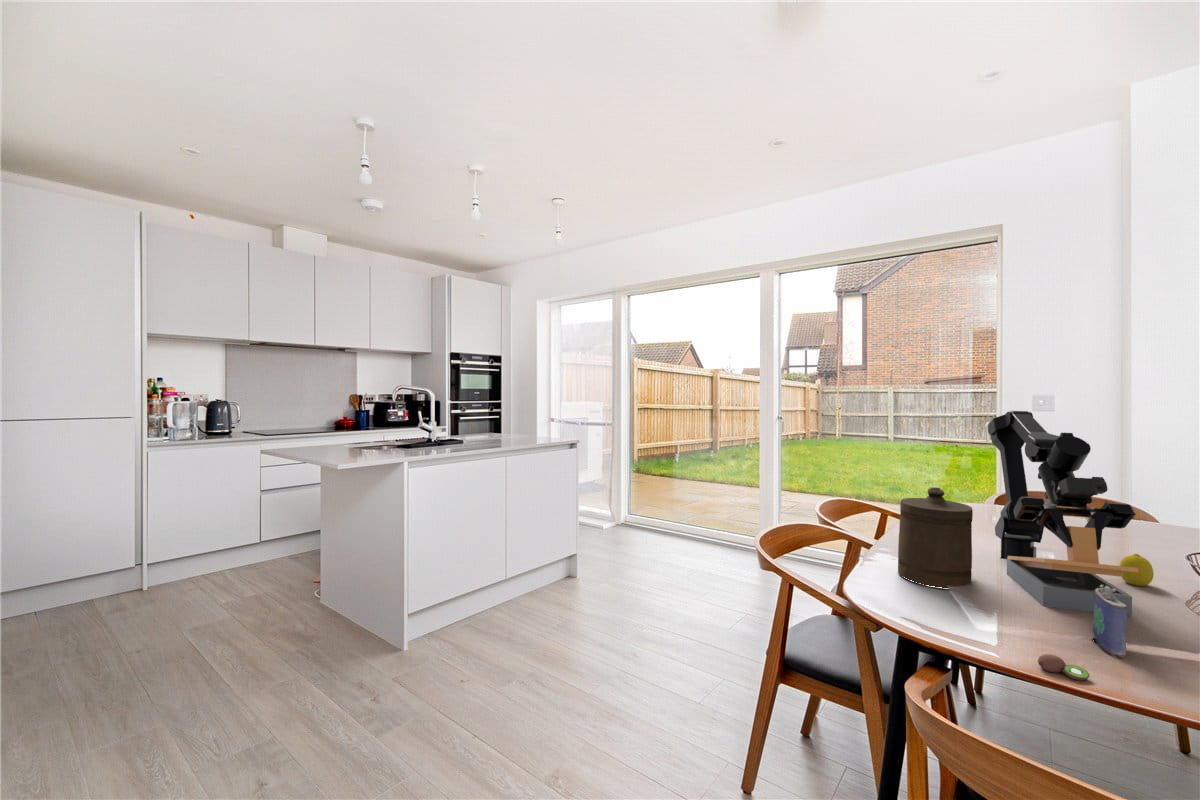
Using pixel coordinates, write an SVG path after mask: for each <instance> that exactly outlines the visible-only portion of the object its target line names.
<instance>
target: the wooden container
mask: <svg viewBox="0 0 1200 800" xmlns="http://www.w3.org/2000/svg"><path fill="white" fill-rule="evenodd" d="M945 493H946V492H945V491H944V490H942V489H941V488H940V487H934V486H933V487H930V488H928V489H927V495H928V496H926V497H908V498H907V497H906V498H902V499H901V500H900V507H899V510H900V512H899V513H900V514H899V526H898V527H899V528H898V529H899V531H898V544H897V545H898V551H897V557H898V558H897V574H898V573H899V574H900V575H901V576H903V577H905V578H907V579H909V580H912V581H914V582H917V583H921V584H924V585H929V586H935V587H942V588H950V587H964V586H969V585H971V583H972V575H973V573H972V568H973V545H972V544H973V543H972V541H973V539H972V534H973V533H972V528H973V527H972V523H973V517H974V514H973V507H972V506H970V505H969V504H965V503H962V502H959V501H958V502H957V501H952V500H946V499H945V498H944V496H945ZM899 574H898V575H899ZM900 575H899V576H900ZM901 576H900V577H901ZM903 577H902V578H903Z"/></svg>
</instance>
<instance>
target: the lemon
mask: <svg viewBox="0 0 1200 800" xmlns="http://www.w3.org/2000/svg"><path fill="white" fill-rule="evenodd" d="M1118 566H1124V567H1134V568H1138V571H1139V572H1131V571H1123V577H1121V579H1123V581H1124V582H1125V583H1127V584H1129V585H1131V586H1136V587H1146V586H1148V585H1150V584H1151V582H1152V581H1153V579H1154V573H1155V572H1154V569H1153V566H1152V564H1151V562H1150V561H1149V560H1148V559H1147V558H1145V557H1143V556H1141V554H1138V553H1133V554H1129V555H1126V556H1123V558H1122V559H1121V560H1120V562H1119V564H1118Z"/></svg>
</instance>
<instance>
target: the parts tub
mask: <svg viewBox="0 0 1200 800" xmlns="http://www.w3.org/2000/svg"><path fill="white" fill-rule="evenodd" d="M1006 575H1007V576H1008V577H1009V578H1011V580H1013V581H1014V583H1016V584H1017V585H1018V586H1020V588H1022V589H1023V590H1024V591H1025V592H1026V593H1027V594H1029V595H1030V596H1031V597H1032V598H1033V599H1034V600H1035V601H1037V602H1038V603H1039V604H1040V605H1041V606H1043V607H1050V608H1055V609H1056V608H1058V609H1066V610H1074V611H1080V612H1086V613H1087V612H1089V613H1094V590H1095V589H1097V588H1100V585H1104V586H1103V587H1102V588H1104V587H1105V586H1109V587H1110V588H1111V589H1114V588H1115V589H1116V591H1115V592H1113V593H1114V594H1115V595H1114V597H1115V598H1116V599H1118V600H1119V601H1120V602H1122V603H1123V604H1125V605H1126V606H1127V618H1128V617H1129V618H1132V615H1133V613H1132V612H1133V596H1132V595H1131V594H1128V593H1127V592H1126V591H1123V590H1122V589H1121V588H1118V587H1117V586H1115V585H1114V584H1112V583H1111V582H1109V581H1107V580H1105V579H1104V578H1102V577H1101V576H1099V575H1098V574H1091V573H1082V572H1073V571H1063V570H1054V569H1045V568H1036V567H1027V566H1022V565H1020V564H1019V560H1010V559H1008V558H1007V559H1006ZM1053 576H1063V577H1072V578H1076V579H1078V580H1079V581H1081V582H1082V583H1084V590H1083V589H1075V588H1066V587H1058V586H1055V585H1053ZM1049 585H1051V586H1049ZM1102 588H1101V589H1102Z"/></svg>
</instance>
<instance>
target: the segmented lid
mask: <svg viewBox="0 0 1200 800" xmlns="http://www.w3.org/2000/svg"><path fill="white" fill-rule="evenodd" d="M1066 527H1067V529H1068V532H1069V534H1070V536H1071V539H1072V542H1073V546H1072V548H1070V547H1068V546H1067V545H1066V544H1065V546H1066V554H1067V560H1065V559H1064V560H1063V559H1056V558H1055V559H1053V558H1044V557H1036V558H1032V557H1017V556H1008V559H1010V560H1019V564H1020V565H1022V566H1027V567H1036V568H1045V569H1054V570H1063V571H1073V572H1082V573H1091V574H1096V575H1103V576H1109V577H1120V578H1122V577H1123V571H1131V572H1139V571H1138V568H1134V567H1124V566H1119V565H1113V564H1103V563H1100V561H1099V550H1098V549H1097V540H1096V531H1095V528H1087V527H1085V526H1073V525H1068V526H1067V525H1066Z"/></svg>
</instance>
